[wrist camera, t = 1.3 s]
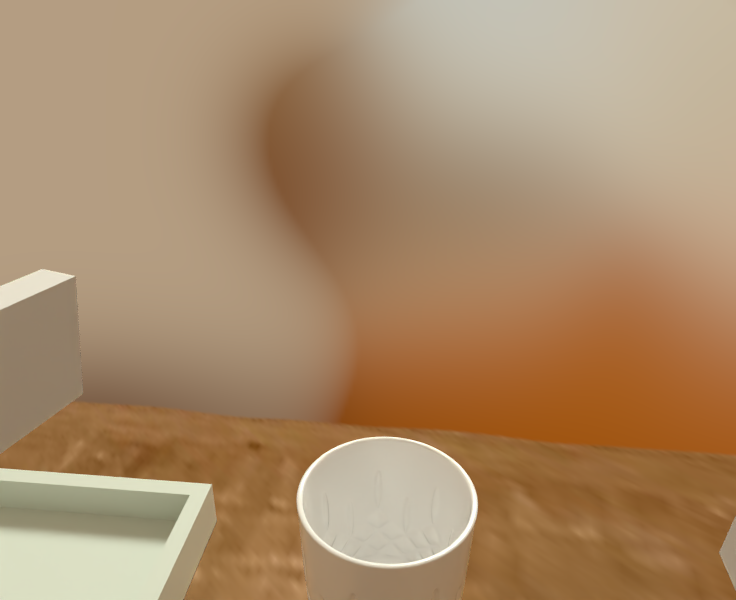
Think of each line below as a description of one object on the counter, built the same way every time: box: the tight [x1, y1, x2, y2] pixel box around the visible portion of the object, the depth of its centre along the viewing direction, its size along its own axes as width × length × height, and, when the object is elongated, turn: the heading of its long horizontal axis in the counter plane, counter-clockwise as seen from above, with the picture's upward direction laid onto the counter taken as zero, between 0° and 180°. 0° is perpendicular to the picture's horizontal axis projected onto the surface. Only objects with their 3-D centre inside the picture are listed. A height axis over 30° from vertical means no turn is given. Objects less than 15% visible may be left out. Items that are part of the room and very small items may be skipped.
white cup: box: [297, 437, 478, 600], centre depth 28 cm, size 8×8×10 cm
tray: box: [0, 468, 217, 600], centre depth 31 cm, size 18×14×3 cm
